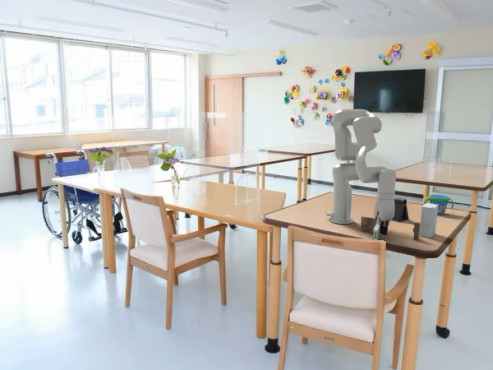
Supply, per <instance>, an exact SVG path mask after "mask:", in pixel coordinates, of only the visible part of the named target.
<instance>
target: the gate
mask: <svg viewBox="0 0 493 370" xmlns="http://www.w3.org/2000/svg"><path fill="white" fill-rule="evenodd" d="M380 235H381V234H380V226H379V224H376V226H375V227H374V233H373V235H372V236H373V237H372V240H373V239H377V240H378V239H379V237H380Z"/></svg>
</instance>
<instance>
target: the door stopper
mask: <svg viewBox="0 0 493 370" xmlns="http://www.w3.org/2000/svg"><path fill="white" fill-rule="evenodd" d="M407 201H408V200H407V199H406V198H401V197H394V203H395V211H394V218H392V220H391V221H394V222H397V223H401V222H404V221H405V222H406V221H410V217H409V211H408V206H407V203H408V202H407Z"/></svg>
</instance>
